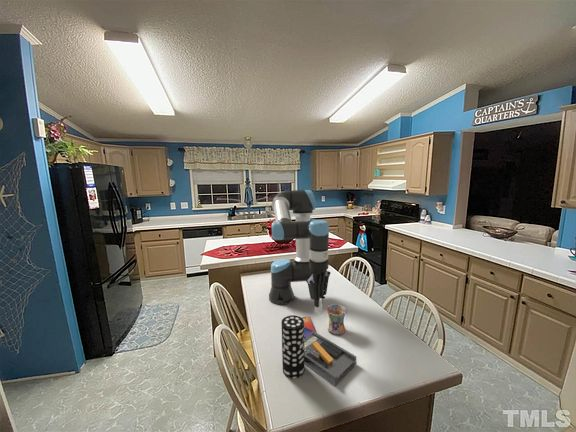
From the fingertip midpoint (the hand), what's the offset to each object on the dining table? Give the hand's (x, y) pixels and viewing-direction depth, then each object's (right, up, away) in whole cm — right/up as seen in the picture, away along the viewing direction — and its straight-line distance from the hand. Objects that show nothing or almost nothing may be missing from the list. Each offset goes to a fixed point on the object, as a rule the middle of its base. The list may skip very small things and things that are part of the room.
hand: (318, 312), depth 101 cm
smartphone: (-4, -15, +17) cm, 22 cm away
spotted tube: (-11, -19, -9) cm, 23 cm away
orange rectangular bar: (0, -14, -6) cm, 15 cm away
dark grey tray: (+1, -17, -4) cm, 18 cm away
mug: (+10, -14, +16) cm, 23 cm away
